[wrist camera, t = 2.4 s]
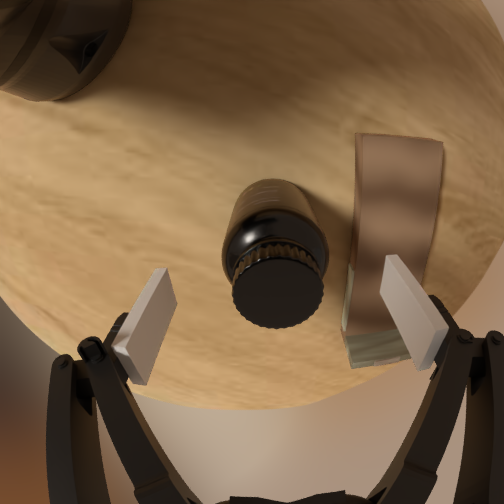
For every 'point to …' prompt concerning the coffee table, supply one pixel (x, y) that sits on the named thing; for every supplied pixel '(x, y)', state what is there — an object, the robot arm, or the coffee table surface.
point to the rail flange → (387, 236)
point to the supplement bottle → (275, 255)
